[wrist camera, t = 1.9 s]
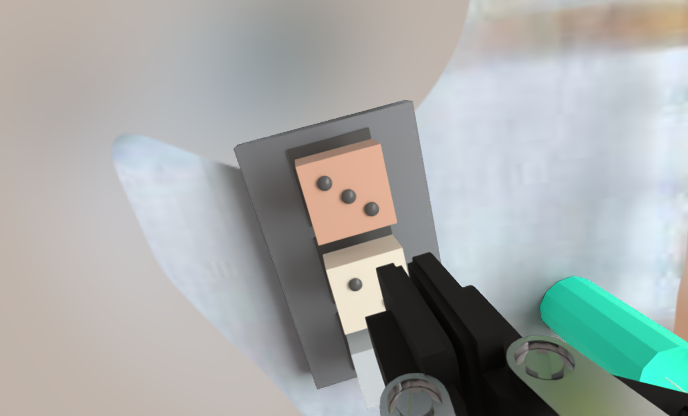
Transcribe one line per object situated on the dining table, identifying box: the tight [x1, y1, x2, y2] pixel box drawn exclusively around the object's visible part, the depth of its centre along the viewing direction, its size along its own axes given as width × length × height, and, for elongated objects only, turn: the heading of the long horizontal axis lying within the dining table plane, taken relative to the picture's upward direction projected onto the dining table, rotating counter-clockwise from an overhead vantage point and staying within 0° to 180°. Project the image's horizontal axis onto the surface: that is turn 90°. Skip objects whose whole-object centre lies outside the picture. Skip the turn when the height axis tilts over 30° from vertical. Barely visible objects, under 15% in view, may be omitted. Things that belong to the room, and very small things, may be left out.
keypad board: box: [234, 100, 441, 389], centre depth 30 cm, size 22×13×2 cm, turn 14°
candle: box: [540, 276, 688, 393], centre depth 31 cm, size 6×6×12 cm
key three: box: [295, 139, 397, 245], centre depth 24 cm, size 5×5×2 cm
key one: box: [346, 328, 385, 409], centre depth 28 cm, size 5×5×3 cm
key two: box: [323, 234, 408, 335], centre depth 26 cm, size 5×5×3 cm
